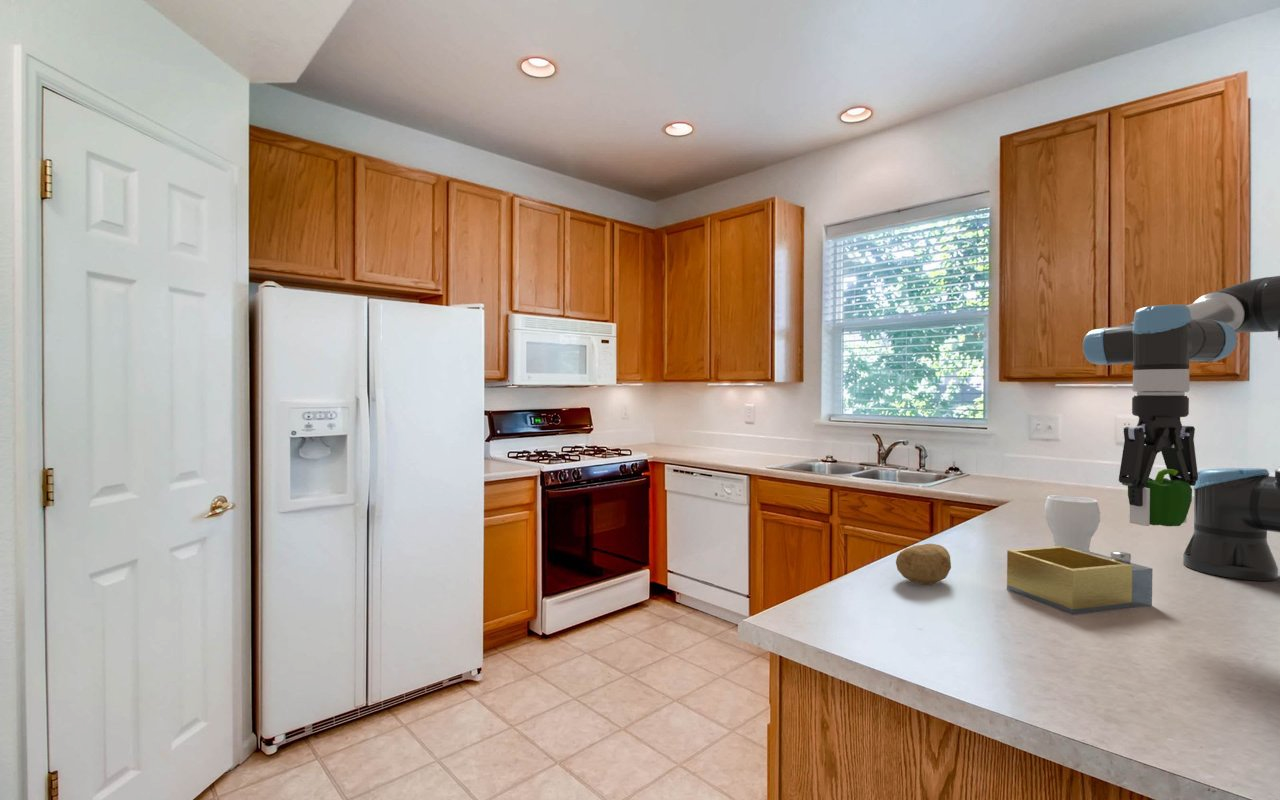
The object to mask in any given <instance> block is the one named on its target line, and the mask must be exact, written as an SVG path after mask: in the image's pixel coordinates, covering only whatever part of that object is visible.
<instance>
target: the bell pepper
mask: <svg viewBox="0 0 1280 800" xmlns="http://www.w3.org/2000/svg"><path fill="white" fill-rule="evenodd" d="M1177 473H1178V471H1177V470H1174V469H1167V468H1166V469H1162V470H1160V471H1158V472H1157V474H1156V476H1155V478H1154V479H1153V478H1151V477H1149V478H1148V481H1147V484H1146V487H1145V488H1150V522H1149V526H1150V525H1151V526H1163V527H1181V526H1182V524H1184V523H1183V522H1184V521H1185V519H1186V516H1188V514H1189V510H1190V507H1191V504H1192V501H1193V487H1192V486H1190V484H1189V483H1188V482H1184V481H1179V480H1170V478H1166V477H1165V476H1167V475H1169V474H1172V475H1174V476H1175V475H1176V474H1177ZM1139 480H1140V479H1139ZM1127 498H1128V499H1129V486H1127Z"/></svg>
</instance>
